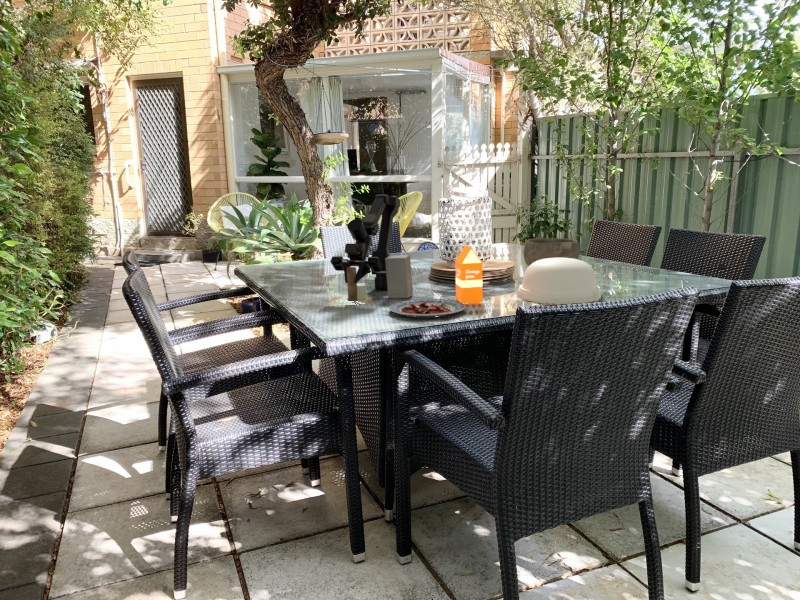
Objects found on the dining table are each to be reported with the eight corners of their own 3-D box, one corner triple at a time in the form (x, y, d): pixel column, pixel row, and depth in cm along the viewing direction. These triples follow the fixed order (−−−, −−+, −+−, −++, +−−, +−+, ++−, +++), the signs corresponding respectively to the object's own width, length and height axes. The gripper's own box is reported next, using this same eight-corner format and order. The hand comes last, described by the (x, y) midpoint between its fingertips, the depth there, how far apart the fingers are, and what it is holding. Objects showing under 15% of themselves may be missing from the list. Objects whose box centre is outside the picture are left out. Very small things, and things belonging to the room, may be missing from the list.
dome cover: (499, 296, 233) (499, 259, 231) (545, 285, 253) (546, 251, 250) (574, 308, 210) (575, 267, 207) (619, 295, 230) (620, 257, 227)
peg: (355, 299, 228) (353, 266, 226) (358, 300, 226) (357, 267, 223) (346, 300, 227) (345, 267, 225) (350, 301, 224) (348, 268, 222)
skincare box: (413, 295, 240) (412, 254, 236) (407, 299, 233) (406, 257, 230) (392, 294, 242) (391, 254, 239) (386, 298, 236) (384, 256, 233)
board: (370, 295, 242) (370, 295, 242) (372, 305, 224) (372, 304, 224) (329, 297, 240) (329, 296, 240) (327, 307, 223) (327, 306, 223)
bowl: (585, 276, 269) (586, 242, 266) (529, 278, 270) (529, 243, 267) (571, 268, 293) (571, 236, 290) (519, 269, 293) (519, 238, 290)
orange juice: (475, 298, 231) (475, 244, 227) (482, 303, 222) (482, 247, 218) (455, 299, 230) (454, 245, 226) (461, 304, 221) (461, 248, 217)
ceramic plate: (408, 325, 194) (408, 315, 194) (378, 309, 218) (377, 301, 217) (479, 315, 204) (479, 306, 204) (443, 301, 228) (443, 293, 227)
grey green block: (365, 295, 241) (364, 283, 240) (365, 298, 235) (365, 285, 234) (349, 296, 240) (349, 283, 239) (350, 299, 234) (349, 286, 233)
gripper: (331, 234, 228) (318, 268, 220) (378, 234, 222) (367, 270, 214) (341, 253, 237) (330, 286, 229) (387, 253, 231) (376, 288, 223)
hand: (350, 282), depth 224 cm, fingers closed on peg, 3 cm apart
